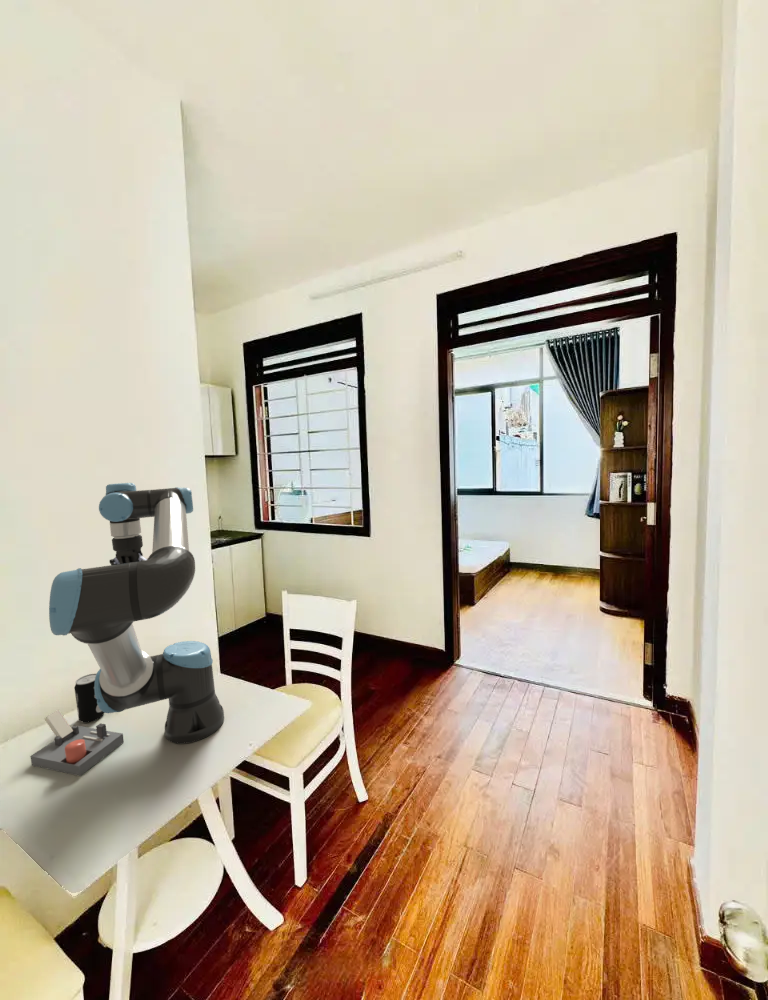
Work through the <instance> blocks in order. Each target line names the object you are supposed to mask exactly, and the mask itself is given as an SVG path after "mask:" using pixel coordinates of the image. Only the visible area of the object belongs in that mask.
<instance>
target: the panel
mask: <svg viewBox="0 0 768 1000" xmlns="http://www.w3.org/2000/svg"><path fill="white" fill-rule="evenodd" d="M70 727H71V728H72V729H73V735H72V736H70V737H69V738H67V739H66V740H64V741H63V742H62V737H58V736H57V737H56V736H55V737H54V738H53V741H51V742H50V743H48V744H47V745H45V746H44V747H42V748H41V749H39V750H37V751H36V752H34V753H33V754H31V755H29V757H30V761H31V766H33V767H37V768H43V769H47V770H52V771H55V772H59V773H64V774H65V773H66V774H69V775H74V776H78V777H81V776H82V775H83V774H85V773H86V772H87V771H89V770H90V769H92V767H93V766H95V765H96V764H97V763H99V762H101V760H103V759H104V758H106V757H107V756H108V755H110V754H111V753H112V752H113V751H114V750H116V749H117V748H118V747H120V746H121V745H122V744H124V741H125V739H124V734H123V733H121V732H116V731H110V730H106V731H107V735H106V736H105V737H103V738H101V737H97V729H96V728H94V727H88V726H81V725H72V726H70ZM79 739H83V740H85V746H86V754H87V756H85V757H84V758H83V759H81V760H80V761H79V762H77V763H76V764H69V763H67V761H66V754H65V747H66V745H68V744H69V743H71V742H73V741H75V740H79Z"/></svg>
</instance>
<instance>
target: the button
mask: <svg viewBox="0 0 768 1000" xmlns="http://www.w3.org/2000/svg"><path fill="white" fill-rule="evenodd" d="M65 754H66V761H67V763H69V764H76V763H77V762H79V761H80V760H81V759H83V758H84V757H85V756H87V754H86V746H85V740H83V739H79V740H75V741H73V742H71V743H69V744H68V745H66V747H65Z"/></svg>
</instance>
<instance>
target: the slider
mask: <svg viewBox="0 0 768 1000" xmlns="http://www.w3.org/2000/svg"><path fill="white" fill-rule="evenodd" d="M95 727H96V728H95V729H97V737H101V738H103V737H105V736H106V735H107V731H108V730H107V726H106V724H105V723H99V724H97V725H96V726H95Z"/></svg>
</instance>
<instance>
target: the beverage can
mask: <svg viewBox="0 0 768 1000" xmlns="http://www.w3.org/2000/svg"><path fill="white" fill-rule="evenodd" d="M96 674H97V673H90V674H87V675H83V676H81V677H79V678H77V679H76V680H75V685H74V695H75V703H76V710H77V715H78V716H77V717H78V721H80V722H81V723H84V724H85V723H86V724H87V723H92V722H95V721H97V720H99V719H102V717H103V716H104V714H105V713H104V712H103V711H101V710H100V708H99V707H98V704H97V699H96V697H95V689H94V686H95V677H96Z"/></svg>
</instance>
